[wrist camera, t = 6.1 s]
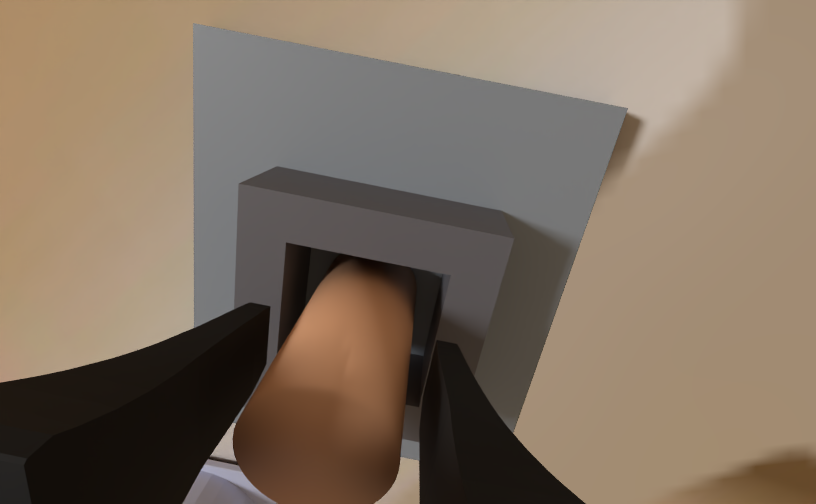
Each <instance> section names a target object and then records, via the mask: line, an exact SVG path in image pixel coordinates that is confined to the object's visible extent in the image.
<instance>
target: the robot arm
mask: <svg viewBox="0 0 816 504" xmlns="http://www.w3.org/2000/svg"><path fill="white" fill-rule="evenodd" d="M270 308H271V306H267V305H262V304H257V303H252V302H250V303H247V304H245V305H242V306H240V307H238V308H236V309H234V310H231V311H229V312H227V313H225V314H223V315H221V316H219V317H217V318H215V319H212V320H210V321H208V322H206V323H204V324H202V325H200V326H197V327H195V328H193V329H191V330H188V331H186V332H183V333H181V334H179V335H176V336H174V337H171V338H169V339H167V340H164V341H162V342H159V343H157V344H154V345H151V346H149V347H146V348H143V349H140V350H137V351H134V352H131V353H128V354H125V355H122V356H119V357H115V358H112V359H108V360H104V361H101V362H97V363H93V364H89V365H85V366H81V367H77V368H73V369H70V370H65V371H61V372H56V373H51V374H46V375H41V376H36V377H31V378H25V379H20V380H14V381H8V382H1V383H0V504H278V503H277V502H275V501H273V500H271V499H270V498H268V497H267V496H265V495H264V494H262V493H261V492H260V491H259V490H258V489H256V488H255V487H254V486H253V485H252V484H251V483H250V481H249V480H248V479H247V478H246V477H245V475H244V474H243V472H242V471H241V469H240V467H239V465H234V464H229V463H224V462H219V461H214V460H209V459H208V458H209V457H210V455H211V454H212V452H213V451H214V449H215V448H216V446H217V445H218V443H219V442H220V441H221V439H222V438H223V436H224V435H225V433H226V432H227V430H228V429H229V427H230V426H231V424H232V423H233V421H234V420H235V418H236V417H237V415H238V414H239V412H240V411H241V409H242V408H243V406H244V405H245V403H246V402H247V400H248V399H249V397H250V396H251V394H252V392H253V391H254V389H255V387H256V385H257V383H258V381H259V379H260V377H261V375H262V372H263V370H264V368H265V366H266V364H267V350H268V336H269V322H270ZM419 471H420V504H585V503H584V502H583V501H582V500H581V499H579V498H578V497H577V496H576V495H575V494H574V493H572V492H571V491H570V490H569V489H568V488H567V487H565V486H564V485H563V484H562V483H561V482H560V481H559V480H557V479H556V478H555V477H554V476H553V475H552V474H551V473H550V472H549V471H548V470H546V468H545V467H544V466H542V464H541V463H540V462H539V461H538V460H537V459H536V458H535V457H534V456H533V455H532V454H531V453H530V452H529V451H528V450H527V449H526V448H525V447H524V446H523V444H522V443H521V442H520V441H519V440H518V439H517V437H516V436H515V435H514V434H513V433H512V431H511V430H510V429H509V428H508V427H507V425H506V424H505V423H504V422H503V420H502V419H501V418H500V416H499V415H498V413H497V412H496V411H495V409H494V408H493V406H492V405H491V403H490V402H489V400H488V399H487V397H486V395H485V394H484V392H483V390H482V389H481V387H480V385H479V384H478V382H477V380H476V379H475V377H474V375H473V373H472V371H471V369H470V367H469V366H468V364H467V362H466V360H465V358H464V356H463V354H462V352H461V349H460V348H459V346H458V344H455V343H450V342H445V341H440V340H436V344H435V348H434V352H433V356H432V361H431V365H430V369H429V373H428V377H427V381H426V385H425V389H424V393H423V399H422V408H421V417H420V426H419Z"/></svg>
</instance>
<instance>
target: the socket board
mask: <svg viewBox="0 0 816 504" xmlns="http://www.w3.org/2000/svg"><path fill="white" fill-rule="evenodd" d="M193 106H194V328H195V327H197V326H200V325H202V324H204V323H206V322H208V321H210V320H212V319H215V318H217V317H219V316H221V315H223V314H225V313H227V312H229V311H231V310H234V309H236V308H238V307H240V306H242V305H245V304H247V303H250V302H252V303H257V304H262V305H267V306H271V308H270V322H269V336H268V350H267V364H266V366H265V368H264V370H263V372H262V375H261V377H260V379H259V381H258V383H257V385H256V387H255V389H254V391H253V392H252V394H251V396H250V397H249V399H248V400H247V402H246V403H245V405H244V406H243V408H242V409H241V411H240V412H239V414H238V415H237V417H236V418H235V420H234V421H233V423H236V422H237V420H238V419H239V417H240V415H241V413H242V412H243V410H244V408H245V407H246V405H247V403H248V402H249V400H250V398H251V397H252V395H253V393H254V392H255V390H256V388H257V387H258V385H259V383H260V382H261V380H262V378H263V377H264V375H265V373H266V372H267V370H268V368H269V367H270V365H271V363H272V362H273V360H274V358H275V357H276V355H277V353H278V352H279V350H280V349H281V347H282V345H283V344H284V342H285V340H286V339H287V337H288V335H289V334H290V332H291V330H292V329H293V327H294V325H295V324H296V322H297V320H298V319H299V317H300V315H301V314H302V312H303V310H304V309H305V307H306V305H307V304H308V302H309V300H310V299H311V297H312V295H313V294H314V292H315V290H316V289H317V287H318V285H319V284H320V282H321V281H322V279H323V277H324V276H325V274H326V272H327V271H328V269H329V267H330V266H331V264H332V262H333V261H334V260H335V259H336V258H337V257H338V256H339V255H340V254H341V253H342V254H347V255H352V256H357V257H362V258H367V259H372V260H377V261H382V262H387V263H392V264H397V265H402V266H407V267H411V269H412V271H413V273H414V276H415V279H416V285H417V293H416V303H415V313H414V324H413V334H412V344H411V354H410V364H409V375H408V385H407V395H406V405H405V415H404V425H403V436H402V446H401V456H400V457H404V458H409V459H414V460H419V426H420V417H421V408H422V399H423V393H424V389H425V385H426V381H427V377H428V373H429V369H430V365H431V361H432V356H433V352H434V348H435V344H436V340H440V341H445V342H450V343H455V344H458V346H459V348H460V349H461V352H462V354H463V356H464V358H465V360H466V362H467V364H468V366H469V367H470V369H471V371H472V373H473V375H474V377H475V379H476V380H477V382H478V384H479V385H480V387H481V389H482V390H483V392H484V394H485V395H486V397H487V399H488V400H489V402H490V403H491V405H492V406H493V408H494V409H495V411H496V412H497V413H498V415H499V416H500V418H501V419H502V420H503V422H504V423H505V424H506V425H507V427H508V428H509V429H510V430H511V431H512V433H513V432H514V429H515V426H516V423H517V421H518V418H519V415H520V412H521V409H522V406H523V404H524V401H525V398H526V395H527V392H528V389H529V387H530V384H531V381H532V378H533V375H534V372H535V370H536V367H537V364H538V361H539V358H540V355H541V352H542V350H543V347H544V344H545V341H546V338H547V336H548V333H549V330H550V327H551V324H552V322H553V319H554V316H555V313H556V310H557V308H558V305H559V302H560V299H561V296H562V293H563V291H564V288H565V285H566V282H567V279H568V276H569V274H570V271H571V268H572V265H573V262H574V259H575V257H576V254H577V251H578V248H579V245H580V242H581V240H582V237H583V234H584V231H585V228H586V226H587V223H588V220H589V217H590V214H591V211H592V208H593V206H594V203H595V200H596V197H597V194H598V192H599V189H600V186H601V183H602V180H603V177H604V175H605V172H606V169H607V166H608V163H609V160H610V158H611V155H612V152H613V149H614V146H615V143H616V141H617V138H618V135H619V132H620V129H621V127H622V124H623V121H624V118H625V115H626V112H627V110H628V108H624V107H618V106H613V105H608V104H603V103H598V102H593V101H588V100H583V99H578V98H572V97H567V96H562V95H557V94H552V93H547V92H542V91H537V90H532V89H527V88H521V87H516V86H511V85H506V84H501V83H496V82H491V81H486V80H481V79H475V78H470V77H465V76H460V75H455V74H450V73H445V72H440V71H435V70H429V69H424V68H419V67H414V66H409V65H404V64H399V63H394V62H389V61H384V60H378V59H373V58H368V57H363V56H358V55H353V54H348V53H343V52H338V51H332V50H327V49H322V48H317V47H312V46H307V45H302V44H297V43H292V42H286V41H281V40H276V39H271V38H266V37H261V36H256V35H251V34H246V33H240V32H235V31H230V30H225V29H220V28H215V27H210V26H205V25H200V24H195V23H193Z"/></svg>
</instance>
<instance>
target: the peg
mask: <svg viewBox="0 0 816 504" xmlns="http://www.w3.org/2000/svg"><path fill="white" fill-rule="evenodd" d="M416 293H417V285H416V279H415V276H414V273H413V271H412V269H411V267H407V266H402V265H397V264H392V263H387V262H382V261H377V260H372V259H367V258H362V257H357V256H352V255H347V254H342V253H341V254H340V255H339V256H338V257H337V258H336V259H335V260H334V261H333V262H332V264H331V266H330V267H329V269H328V271H327V272H326V274H325V276H324V277H323V279H322V281H321V282H320V284H319V285H318V287H317V289H316V290H315V292H314V294H313V295H312V297H311V299H310V300H309V302H308V304H307V305H306V307H305V309H304V310H303V312H302V314H301V315H300V317H299V319H298V320H297V322H296V324H295V325H294V327H293V329H292V330H291V332H290V334H289V335H288V337H287V339H286V340H285V342H284V344H283V345H282V347H281V349H280V350H279V352H278V353H277V355H276V357H275V358H274V360H273V362H272V363H271V365H270V367H269V368H268V370H267V372H266V373H265V375H264V377H263V378H262V380H261V382H260V383H259V385H258V387H257V388H256V390H255V392H254V393H253V395H252V397H251V398H250V400H249V402H248V403H247V405H246V407H245V408H244V410H243V412H242V413H241V415H240V417H239V419H238V420H237V422H236V425H235V428H234V433H233V449H234V455H235V458H236V460H237V463H238V465H239V467H240V469H241V471H242V472H243V474H244V475H245V477H246V478H247V479H248V480H249V481H250V483H251V484H252V485H253V486H254V487H255V488H256V489H258V490H259V491H260V492H261V493H262V494H264V495H265V496H267V497H268V498H270V499H271V500H273V501H275V502H277V503H278V504H374V503H375V502H376V501H378V500H379V499H381V498H382V497H383V496H384V495H385V494H386V493H387V492H388V491H389V489H390V488H391V487H392V485H393V483H394V481H395V480H396V477H397V474H398V471H399V465H400V456H401V446H402V436H403V425H404V415H405V405H406V395H407V385H408V375H409V364H410V354H411V344H412V334H413V324H414V313H415V303H416Z"/></svg>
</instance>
